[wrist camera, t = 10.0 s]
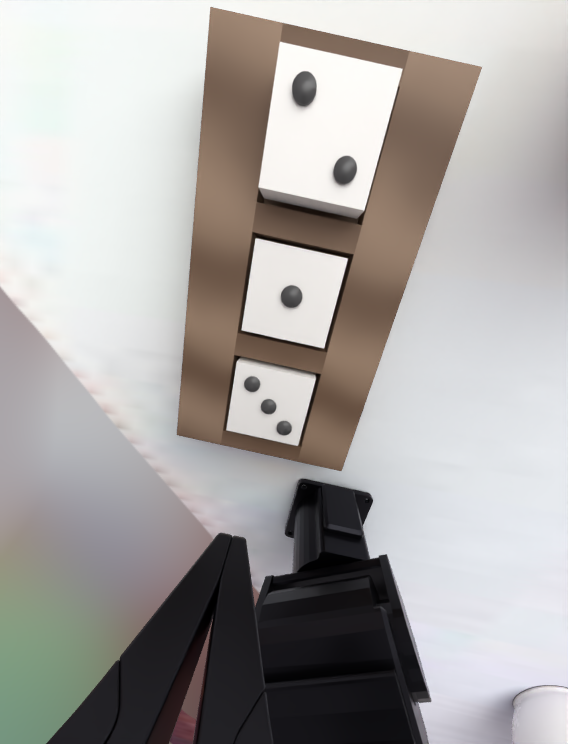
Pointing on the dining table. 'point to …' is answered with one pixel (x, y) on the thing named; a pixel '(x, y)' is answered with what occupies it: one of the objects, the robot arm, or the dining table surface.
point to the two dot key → (325, 129)
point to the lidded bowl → (541, 716)
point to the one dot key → (292, 292)
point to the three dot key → (269, 400)
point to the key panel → (305, 231)
